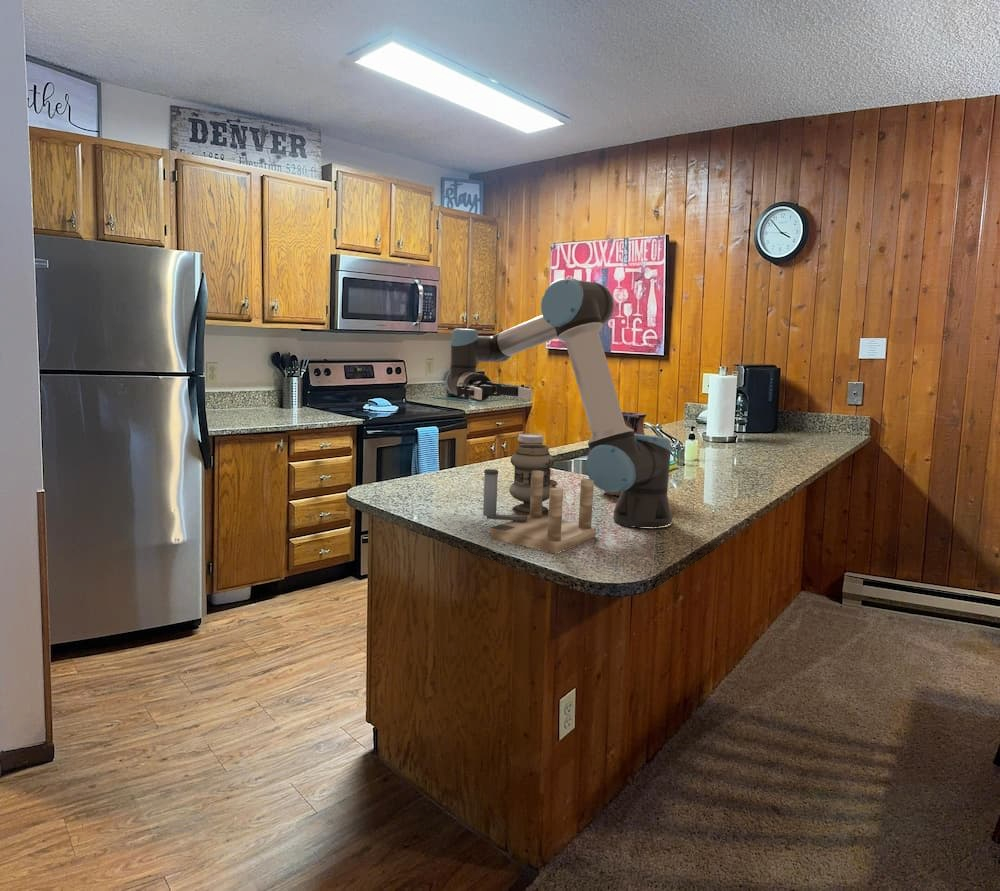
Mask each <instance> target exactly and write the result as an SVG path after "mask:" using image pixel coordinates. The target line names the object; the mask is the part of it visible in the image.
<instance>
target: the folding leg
mask: <svg viewBox="0 0 1000 891" xmlns="http://www.w3.org/2000/svg"><path fill="white" fill-rule="evenodd" d="M483 473H484V477H483V478H484V479H483V505H482V506H483V507H482V508H483V509H482V516H485V517H486V520H501V521H513V520H514V521H527V516H528V515H524V514H518V515H513V514H499V513H498V514H497V505H498V504H497V500H498V480H499V479H498V477H499V476H498V475H499V470H498V469H493V468H489V469H488V468H487V469H484V471H483Z"/></svg>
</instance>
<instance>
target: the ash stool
mask: <svg viewBox="0 0 1000 891" xmlns="http://www.w3.org/2000/svg"><path fill="white" fill-rule="evenodd" d="M543 478H544V472H543V471H538V470H535V471H532V475H531V497H530V515H526V516H527V521H514V520H509V521H507V522H503V523H500V524H498V525H495V526H490V539H493V540H497V541H501V542H505V543H508V542H509V543H510V544H514V545H517V544H518V545H517V546H521V545H522V546H521V547H525V546H526V548H529V547H531V548H530V549H533V548H535V549H534V550H537V549H540V550H539V551H541V550H543V551H542V552H545V551H547V552H546V553H549V552H552V553H551V554H553V553H558V552H560V551H563V550H565V551H567V550H569V549H568V548H570V547H572V548H573V546H574V547H576V546H575V545H577V544H579V543H581V544H583V543H585V542H584V541H586V540H588V539H590V540H592V539H591V538H593V537H595V536H596V537H597V527H596V526H592V515H593V501H594V487H595V485H594V480H592V479H589V478H581V479H580V493H579V509H578V510H579V511H578V523H577V522H573V521H569V520H564V519H563V501H564V488H562V487H553V488H550V493H549V499H548V510H549V512H548V513H547V515H548V516H545V515H542V505H543V502H542V498H543ZM596 537H595V538H596ZM593 539H594V538H593ZM588 541H589V540H588ZM582 542H583V543H582ZM586 542H587V541H586ZM509 543H508V544H509ZM579 545H580V544H579ZM577 546H578V545H577ZM566 549H567V550H566ZM570 549H571V548H570ZM563 552H564V551H563ZM560 553H561V552H560ZM558 554H559V553H558Z"/></svg>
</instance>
